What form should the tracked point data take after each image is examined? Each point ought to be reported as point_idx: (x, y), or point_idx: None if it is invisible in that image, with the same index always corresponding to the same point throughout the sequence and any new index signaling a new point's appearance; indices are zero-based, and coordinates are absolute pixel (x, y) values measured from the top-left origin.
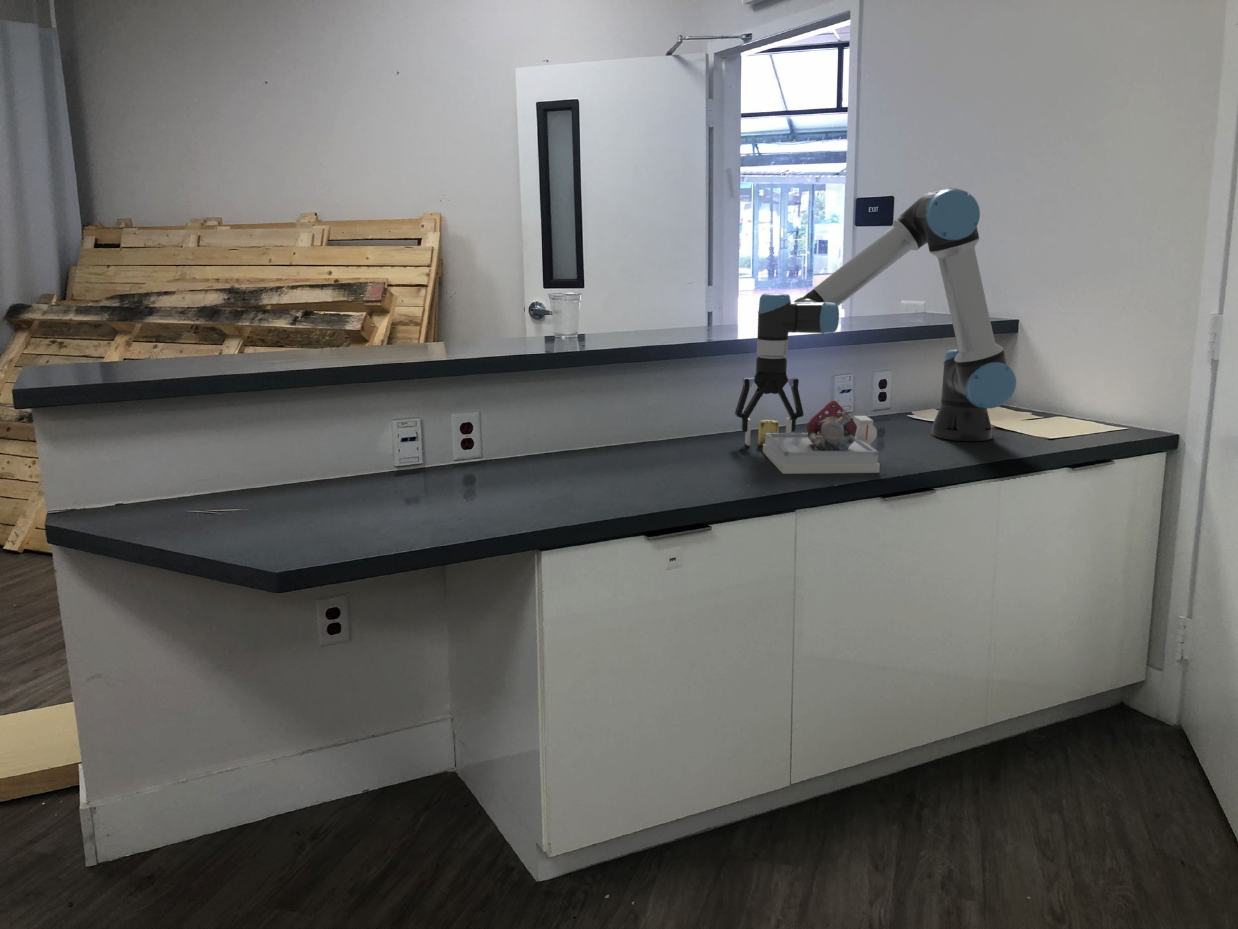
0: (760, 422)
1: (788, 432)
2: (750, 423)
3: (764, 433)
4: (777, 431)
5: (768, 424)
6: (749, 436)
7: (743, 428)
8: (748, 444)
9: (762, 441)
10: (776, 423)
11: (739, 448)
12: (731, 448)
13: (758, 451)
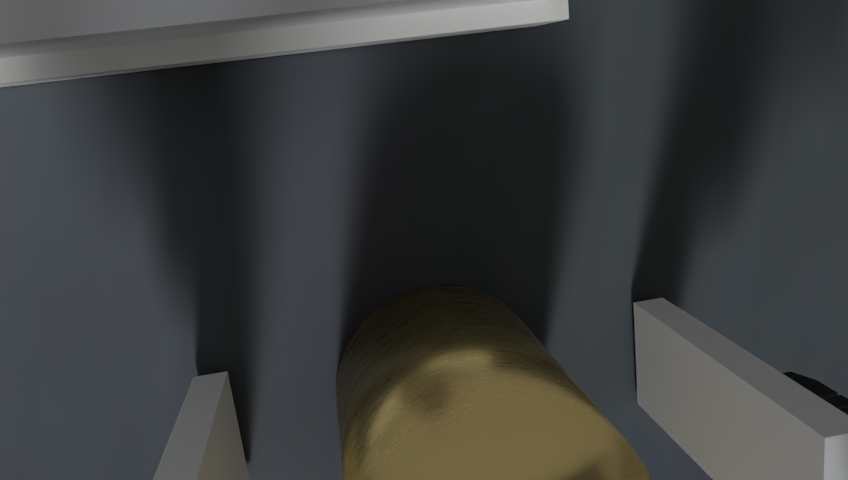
0: (645, 476)
1: (204, 444)
2: (792, 409)
3: (536, 349)
4: (363, 415)
5: (531, 393)
6: (691, 336)
7: (821, 388)
8: (653, 300)
9: (522, 323)
10: (400, 449)
11: (745, 185)
12: (820, 177)
13: (576, 55)
